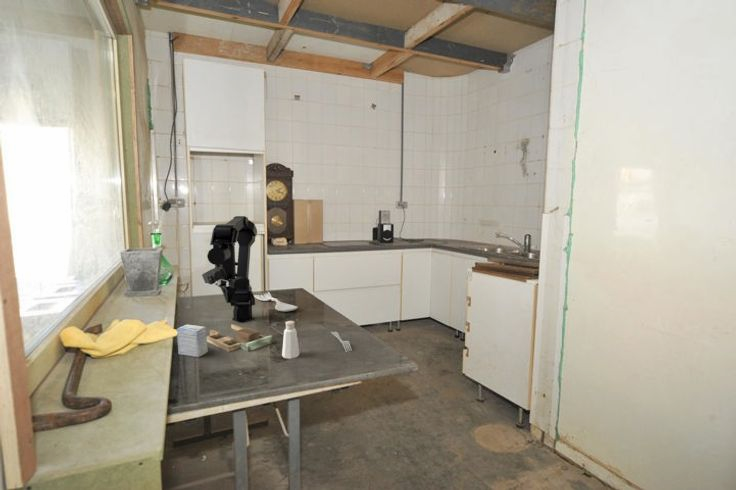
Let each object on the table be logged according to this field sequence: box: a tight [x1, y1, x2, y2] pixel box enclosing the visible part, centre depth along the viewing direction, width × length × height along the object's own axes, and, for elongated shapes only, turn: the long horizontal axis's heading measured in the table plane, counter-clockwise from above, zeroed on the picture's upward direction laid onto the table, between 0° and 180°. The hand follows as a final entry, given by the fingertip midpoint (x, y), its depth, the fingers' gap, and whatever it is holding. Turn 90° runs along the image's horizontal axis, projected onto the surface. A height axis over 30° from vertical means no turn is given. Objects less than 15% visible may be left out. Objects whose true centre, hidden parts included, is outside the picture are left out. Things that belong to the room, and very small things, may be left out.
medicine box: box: [176, 324, 208, 358], centre depth 123 cm, size 8×4×9 cm, turn 71°
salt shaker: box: [281, 320, 300, 360], centre depth 122 cm, size 5×5×11 cm
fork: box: [330, 331, 353, 353], centre depth 135 cm, size 3×21×3 cm, turn 20°
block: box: [235, 327, 260, 344], centre depth 133 cm, size 4×7×4 cm, turn 53°
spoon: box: [253, 291, 298, 313], centre depth 178 cm, size 9×32×4 cm, turn 40°
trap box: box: [207, 323, 273, 353], centre depth 135 cm, size 14×24×2 cm, turn 51°
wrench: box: [265, 321, 285, 337], centre depth 144 cm, size 5×20×1 cm, turn 37°
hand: (228, 302), depth 139 cm, fingers closed
